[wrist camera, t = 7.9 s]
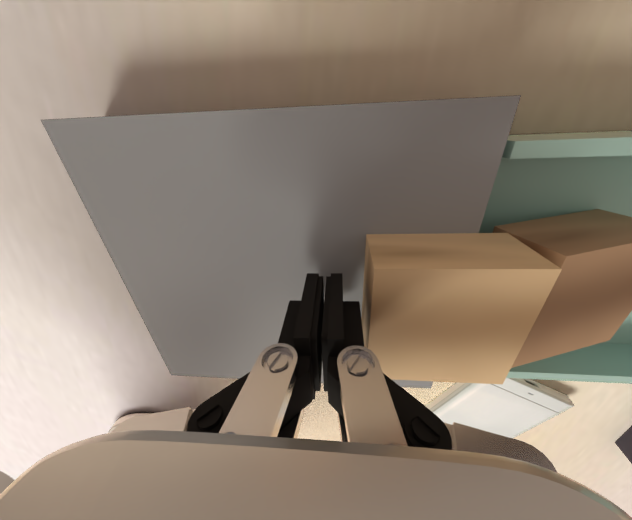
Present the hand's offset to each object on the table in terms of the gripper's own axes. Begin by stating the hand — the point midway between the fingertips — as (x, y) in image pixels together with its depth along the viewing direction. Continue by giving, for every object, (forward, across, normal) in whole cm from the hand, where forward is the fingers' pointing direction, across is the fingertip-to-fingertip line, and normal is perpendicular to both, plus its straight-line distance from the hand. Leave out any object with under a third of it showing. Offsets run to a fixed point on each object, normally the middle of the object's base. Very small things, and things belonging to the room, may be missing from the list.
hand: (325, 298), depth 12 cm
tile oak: (+1, -5, 0) cm, 5 cm away
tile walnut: (+3, -10, 0) cm, 11 cm away
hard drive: (+5, -12, +16) cm, 21 cm away
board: (+4, +2, 0) cm, 5 cm away
